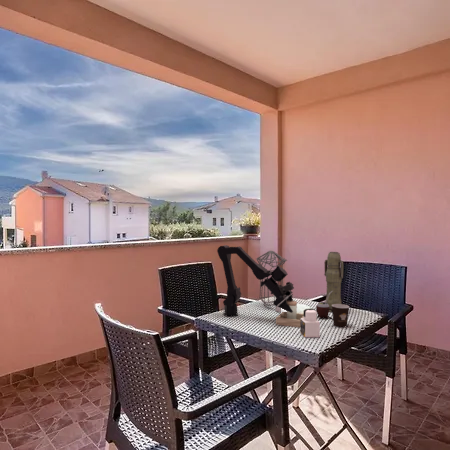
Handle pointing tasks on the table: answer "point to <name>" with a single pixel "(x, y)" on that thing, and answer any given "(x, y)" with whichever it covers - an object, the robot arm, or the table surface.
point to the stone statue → (333, 278)
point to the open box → (288, 320)
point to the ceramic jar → (294, 307)
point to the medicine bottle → (310, 324)
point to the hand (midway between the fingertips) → (294, 310)
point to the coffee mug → (339, 314)
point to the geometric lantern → (270, 270)
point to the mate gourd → (323, 309)
